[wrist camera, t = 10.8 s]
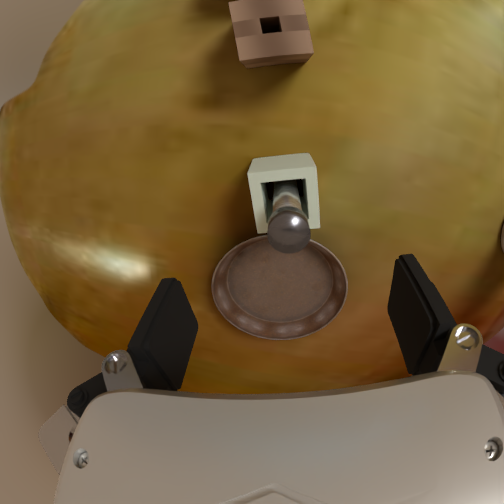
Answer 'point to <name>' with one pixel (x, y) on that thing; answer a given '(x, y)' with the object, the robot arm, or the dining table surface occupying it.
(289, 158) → the wide bore block
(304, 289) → the plant saucer
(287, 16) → the narrow block
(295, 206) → the cylinder
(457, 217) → the dining table surface
